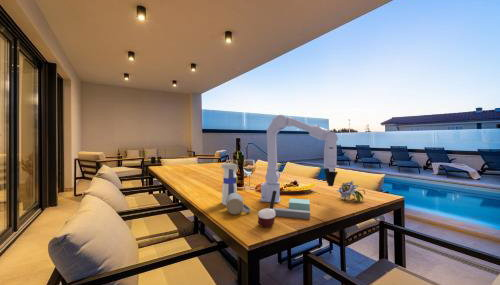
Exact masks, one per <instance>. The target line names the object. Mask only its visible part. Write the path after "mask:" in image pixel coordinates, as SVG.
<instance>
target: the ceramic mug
mask: <svg viewBox="0 0 500 285" xmlns="http://www.w3.org/2000/svg"><path fill="white" fill-rule="evenodd" d="M225 208H226V210H227V212H228V213H229V214H231V215H235V216H236V215H239V214H241V213H242V212H243V213H245V214H249V213H250V212H251V208H250V206H248V205H246V204H245V203H244V198H243V197H242V195H241V194H239V193H238V192H237V193H231V194H230V195H228V197H227V199H226V205H225Z"/></svg>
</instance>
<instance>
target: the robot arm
mask: <svg viewBox="0 0 500 285" xmlns="http://www.w3.org/2000/svg"><path fill="white" fill-rule="evenodd" d="M287 127H288V128H289V127H295V128H298V129H301V130H303V131H305V132H308V134H309V136H310V137H313V138H316V139H317V140H320V141H324V148H323V152H324V153H323V167H324V168H323V171H324V175H325V180H326V183H327V186H328V187H334V184H335V179H336V177H337V175H338V171H336V168H340V166H339V165H337V162H338V161H337V158H338V156H337V155H338V152H337V151H338V150H337V149H338V148H337V145H338V144H337V142H338V139H339V137H338V134H337V133H335V132H334V131H330V129H329V128H323V127H321V125H319V124H317V125H316V124H313V125H309V124H307V123H305V122H303V121H301V120H298V119H296V118H294V117H290V116H287V115H286V116H285V115H283V114H278V115H276V116H274V118H273V119H272V120H271V122H270V124H269V126H268V128H267V129H266V148H267V149H266V150H267V153H266V154H267V168H266V174H265V178H264V179H265V182H262V183H261V187H260V202H265V203H271V198H272V193H273V191H276V196H275V201H274V203H277V204H279V203H280V202H281V200H282V197H280V193H281V191H280V187H281V186H280V185H281V184H280V181H279V179H280V176H281V175H280V174H281V173H280V171H279V168H278V155H277V154H278V151H277V148H278V146H277V134H278V133H280V131H282V130H284V129H286V128H287Z"/></svg>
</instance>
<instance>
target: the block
mask: <svg viewBox="0 0 500 285" xmlns="http://www.w3.org/2000/svg"><path fill="white" fill-rule="evenodd" d="M310 202H311V201H310V199H304V198H289V201H288V209H293V210H304V211H310V209H311V208H310V207H311V206H310V205H311V204H310ZM310 212H311V211H310Z"/></svg>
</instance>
